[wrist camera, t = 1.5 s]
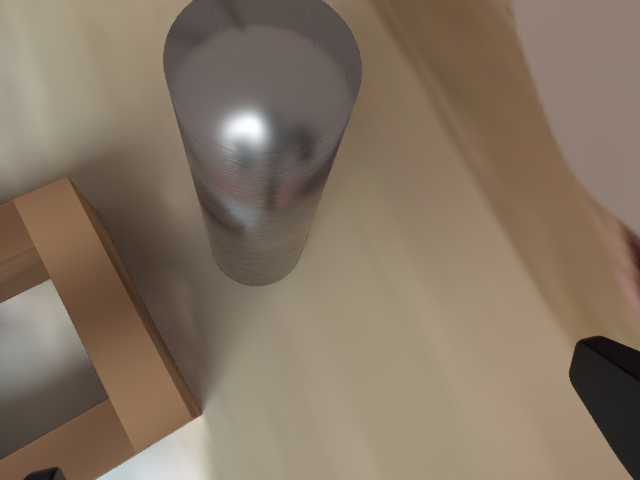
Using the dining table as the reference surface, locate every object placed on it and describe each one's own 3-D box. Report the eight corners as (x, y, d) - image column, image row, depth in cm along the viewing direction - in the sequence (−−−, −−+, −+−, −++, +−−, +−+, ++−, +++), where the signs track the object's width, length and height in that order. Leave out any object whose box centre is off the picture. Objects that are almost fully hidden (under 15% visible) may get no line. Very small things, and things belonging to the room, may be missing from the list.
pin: (319, 240, 23) (399, 62, 11) (259, 304, 22) (271, 189, 9) (254, 184, 23) (259, -51, 11) (192, 244, 22) (119, 57, 10)
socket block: (201, 414, 20) (192, 419, 17) (-58, 572, 18) (-130, 614, 14) (94, 208, 22) (66, 175, 19) (-155, 324, 19) (-239, 310, 16)
